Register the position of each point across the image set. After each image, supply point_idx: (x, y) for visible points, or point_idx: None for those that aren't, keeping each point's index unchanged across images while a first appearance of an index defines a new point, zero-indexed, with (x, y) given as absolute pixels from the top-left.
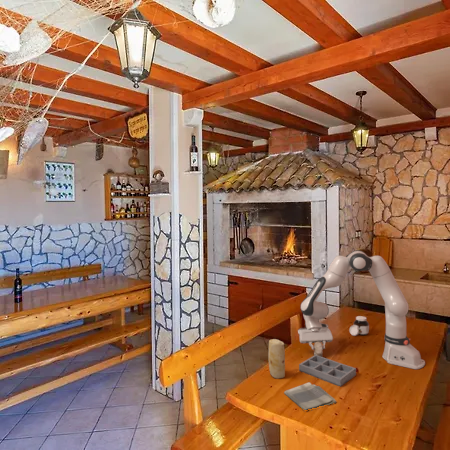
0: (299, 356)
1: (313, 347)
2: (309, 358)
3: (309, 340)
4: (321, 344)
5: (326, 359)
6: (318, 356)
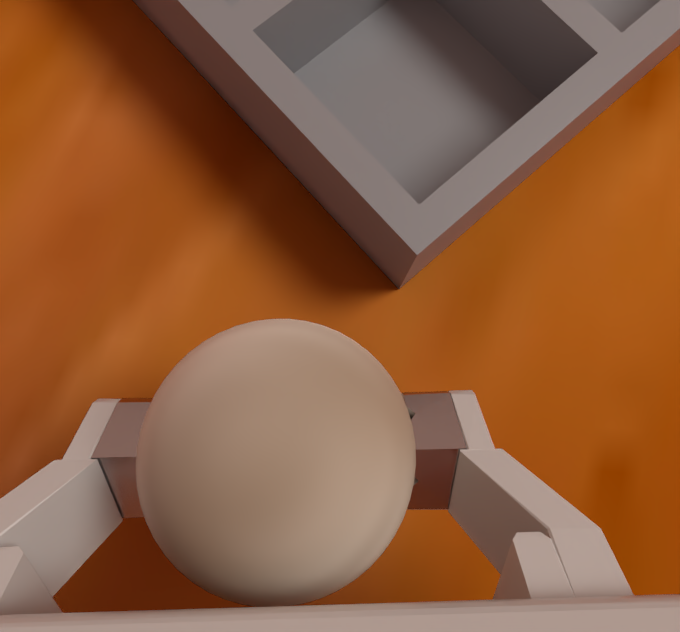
0: (652, 508)
1: (448, 411)
2: (589, 98)
3: (672, 604)
4: (176, 373)
5: (258, 36)
6: (378, 167)
